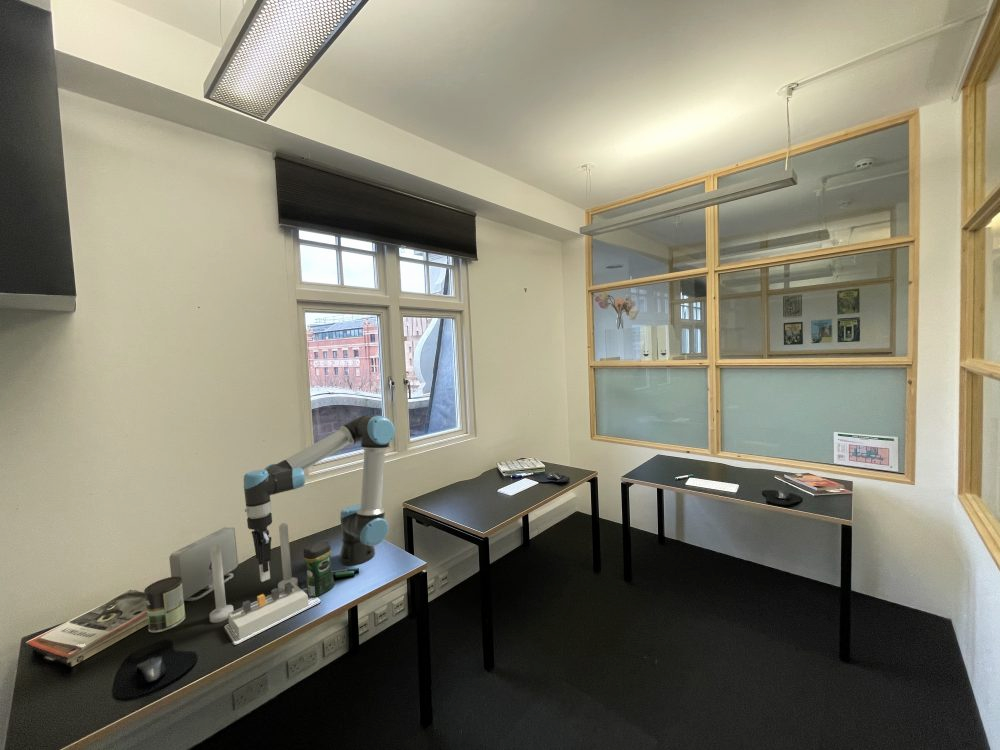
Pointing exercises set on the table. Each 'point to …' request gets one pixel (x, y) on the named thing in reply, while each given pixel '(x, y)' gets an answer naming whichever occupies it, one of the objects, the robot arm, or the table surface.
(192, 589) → the network device
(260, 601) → the breaker paddles
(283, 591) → the breaker panel
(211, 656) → the table surface
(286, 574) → the white rod
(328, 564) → the coffee jar
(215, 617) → the white peg stand
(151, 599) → the coffee can
